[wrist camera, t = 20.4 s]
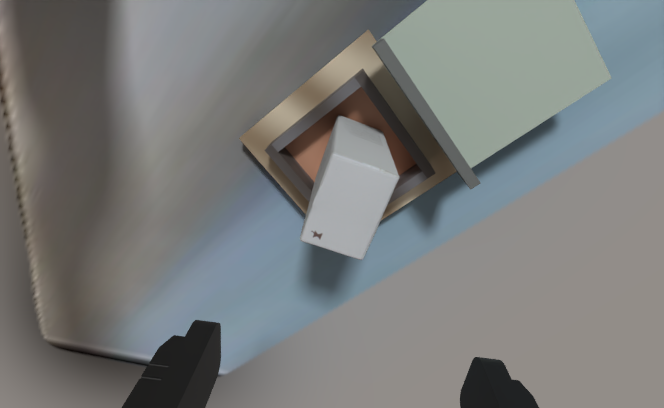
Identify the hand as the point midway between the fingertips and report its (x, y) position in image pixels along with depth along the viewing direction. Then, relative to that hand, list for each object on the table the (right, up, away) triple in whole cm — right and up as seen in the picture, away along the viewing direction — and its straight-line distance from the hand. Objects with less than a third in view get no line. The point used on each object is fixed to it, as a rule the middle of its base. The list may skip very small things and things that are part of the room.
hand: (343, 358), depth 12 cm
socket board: (+1, +10, +22) cm, 24 cm away
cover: (+11, +15, +15) cm, 24 cm away
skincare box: (+1, +9, +21) cm, 23 cm away
